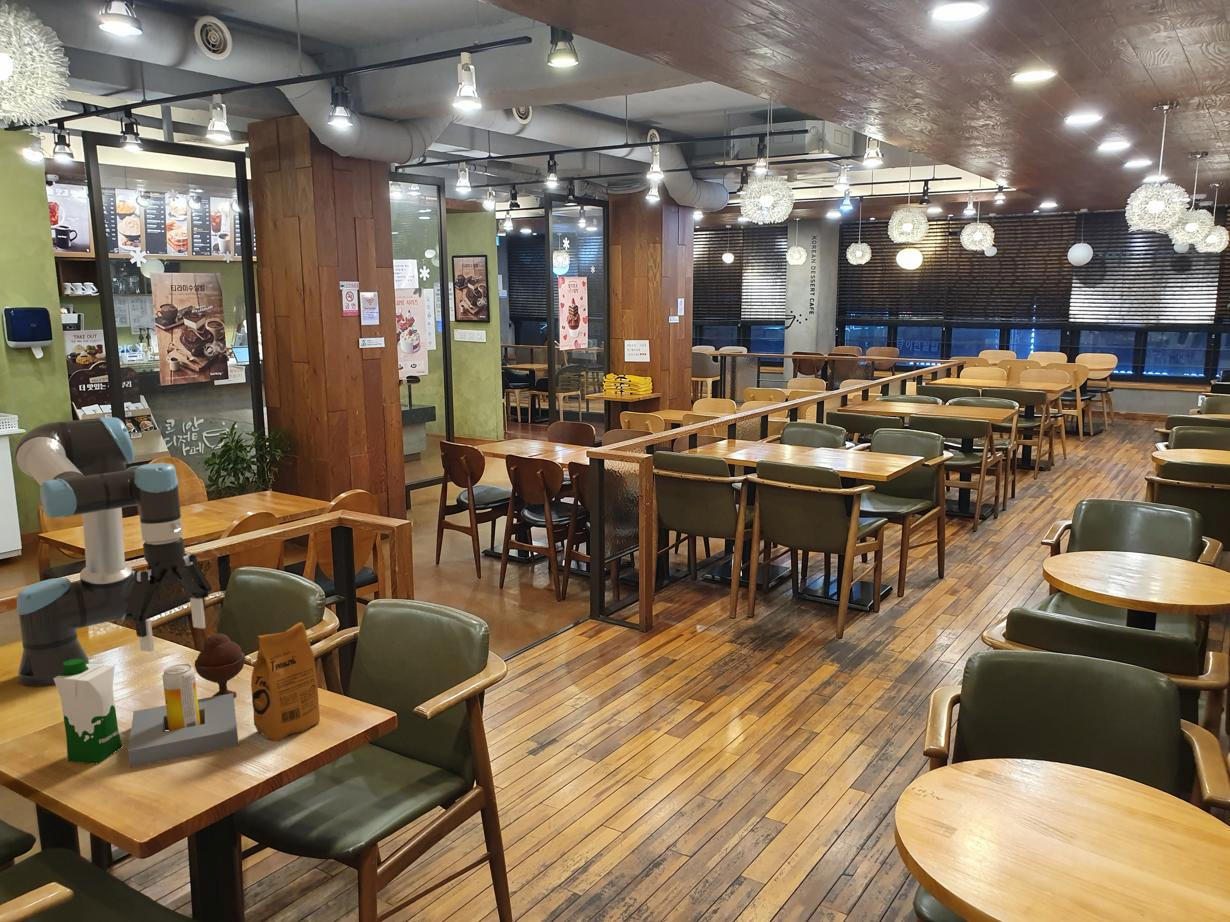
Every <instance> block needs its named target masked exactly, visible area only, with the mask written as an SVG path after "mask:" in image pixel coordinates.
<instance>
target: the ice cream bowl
mask: <svg viewBox="0 0 1230 922" xmlns="http://www.w3.org/2000/svg"><path fill="white" fill-rule="evenodd" d="M245 661H246V653H245V652H243V651H242V648H241V646H240V644H238V643H236V642H234V641H231V638H229V636H228V635H226V634H224V633H214V634H212V635H210V636H209V637H207V639H206V640H205V642H204V644H203V649H202V650H201V651H200V652H199V654H198V655H197V658H196V659H195V660H194V668H195V670H196V672H197V674H198V676H199V677H201V678H202V679H203V680H205V681H208V682H211V683H215V684H218V689H219V691H217V692H216V693H214V694H213V695H212V696H211V697H214V696H220V695H225V694H231V693H233V696H234V699H236V698H237V693H236V691H233V690H230V689H228V686H227V685H228V684H227V683H228V681H230V680H232V679H233V678H235V677H236V676H237V675H239V674H240V672H242V670H243V668H244V665H245ZM235 697H236V698H235Z"/></svg>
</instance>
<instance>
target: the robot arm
mask: <svg viewBox="0 0 1230 922" xmlns="http://www.w3.org/2000/svg"><path fill="white" fill-rule="evenodd" d="M13 456H14V462H15V464H16V465H17V467H18V468H19V470H20V471H21V472H22V473H23V474H25V475H27V476H28V477H30V478H33V479H34V480H35V481H36V482H37V483H38V484H39V486H40V488H39V496H40V502H41V507H42V510H43V512H44V514H45V516H47V517H49V518H61V517H64V518H69V517H71V516H72V517H73V516H77V515H81V516H82V526H83V528H82V529H83V541H84V542H83V543H84V553H85V554H84V555H85V566H84V568H82V570H81V571H80V572H79V580H77V581H72V582H71V580H70V579H69V578H67V577H57V578H49V579H45V580H42V581H41V580H40V581H38V582H35V583H32V584H30V585H29V586H26V587H25V588H23V589H22V590H20V591H19V592H18V594H17V596H16V614H17V615H18V621H19V626H20V628H19V629H20V635H21V641H22V642H21V643H22V649H23V650H22V654H21V659H20V662H19V663H20V664H19V667H18V672H17V675H18V681H19V683H20V684H21V685H23V686H28V687H45V686H50V685H51V686H52V685H56V684H55V682H54V678H55V677H57V676H58V675H60V674H62V673H63V672H64V671H63V662H65V661H67V660H70V659H74V658H85V660H86V664H90V661H89V660H90V659H89V657H88V655H87V654H86V652H85V650H84V648H83V646H82V645H81V643H80V641H79V638H78V633H77V632H78V631H77V629H82V628H86V627H91V626H95V625H100V624H105V623H109V622H113V621H121V620H123V619H125V621H128V622H134V626H135V632H136V636H137V637H139V644H140V651H143V652H150V653H152V652H154V651H155V646H154V644H155V643H154V637H153V628H152V619H148V617H149V615H150V613H151V611H152V609H153V607H154V604H155V603H156V600H157V598H158V596H159V595H160V594H159V593H160V592H161V591H162V590H163V589H164V588H165V587H168V586H169V585H171V584H172V583H173V584H174V583H177V582H178V583H179V584H180V585H181V586H182V587H183V588H184V589H186V590H187V591H188V592H189V593H190V594H191V595H192V597H190V598H189V599H190V601H189V602H190V611H191V619H192V626H193V627H192V628H195V629H196V628H197V629H205V628H206V627H207V626H206V618H205V611H206V600H205V598H209V592H212V590H213V589H212V585H211V583H210V582H209V580H208V579H207V577H206V575H205V574H204V572H203V570H202V569H201V567H200V565H199V563H198V560H197V556H196V554H194V553H193V554H191V553H186V550H185V549H186V548H185V540H184V539H183V536H184V531H183V523H182V521H183V520H182V515H181V505H180V504H181V503H180V495H179V494H180V493H179V478H178V477H177V472H176V467H175V466H174V465H173V464H172V463H168V462H167V463H165V462H156V463H155V462H154V463H145V464H142V465H135V466H130V467H128V468H127V465H130V464H132V463H133V462H135V461H134V460H135V459H134V458H135V452H134V446H133V442H132V440H131V435H130V433H129V431H128V429H127V427H126V425H125V423H124V421H122V419H120V418H118V417H102V416H101V417H100V416H99V417H95V418H94V417H93V418H85V419H78V420H76V419H75V420H67V421H53V422H48V423H44V424H41V425H38V426H36V427H34V428H33V429H30V430H29V431H27V432H26V433H24V435H23V436H21V438H20V439H19V440H18V442H17V444H16V445H15V448H14V455H13ZM134 506H138V512H139V520H140V521H139V522H140V530H141V531H140V532H141V540H142V541H144V542H143V544H142V546H143V547H142V548H143V557H144V560H145V561H146V563H147V568H146V569H145V570H133V568H132V566H130V565H129V564H128V563H126V559H125V558H126V557H125V542H124V541H125V540H124V527H123V524H124V523H123V510H122V509H123V508H127V507H129V508H130V507H134ZM184 568H186V570H187V572H188V573H187V572H186V571H185V570H184Z"/></svg>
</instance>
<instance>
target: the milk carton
mask: <svg viewBox="0 0 1230 922" xmlns="http://www.w3.org/2000/svg"><path fill="white" fill-rule="evenodd" d="M63 671H64V672H63V673H62V674H60V675H58V676H57V677H55V678H54V682H55V684H54V685H55V686H56V687H55V688H56V689H57V692H58V694H59V698H60V701H61V707H62V708H61V709H62V716H63V722H64V730H65V731H64V732H65V736H66V737H65V738H66V753H67V762H68V761H73V762H72V763H79V762H84V763H83V764H91V763H95V764H94V765H99V764H100V762H101V761H102V762H103V760H104V759H105V760H107V759H108V758H110V757H111V756H112V755H114V754H115V753H116V752H115V751H117V750H118V749H120V748H121V747H122V746H123V742H122V739H121V735H120V730H119V727H118V725H119V724H118V717H117V710H116V703H115V702H116V701H115V696H114V694H115V693H114V676H115V665H105V664H102V663H100V664H96V663H89V664H86V660H85V658H74V659H70V660H67V661H65V662H63ZM121 749H122V748H121ZM121 749H120V750H121ZM118 751H119V750H118ZM118 751H117V752H118ZM114 752H115V753H114ZM113 753H114V754H113ZM111 754H112V755H111ZM110 755H111V756H110ZM109 756H110V757H109ZM107 757H108V758H107ZM106 758H107V759H106ZM105 760H104V761H105ZM102 762H101V763H102ZM96 763H97V764H96Z"/></svg>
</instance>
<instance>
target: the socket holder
mask: <svg viewBox="0 0 1230 922" xmlns="http://www.w3.org/2000/svg"><path fill="white" fill-rule="evenodd" d="M235 706H236V705H235V698H234V696H233V693H231V694H225V695H220V696H214V697H212V696H210V697H209V696H208V697H203V698H199V699H198V707H199V716H200V725H197V726H191V727H186V728H181V729H176V730H171V731H165V730H169V727H168V719H167V711H166V704H165V705H160V706H154V707H150V708H149V707H148V708H144V709H143V708H142V709H139V710H133V715H132V720H131V728H130V734H129V735H130V736H129V741H128V749H127V754H128V761H129V762H128V763H129V767H130V768H134V767H133V766H135V767H140V766H144V764H145V765H148V764H149V763H150V764H154V763H158V762H159V761H160V762H163V761H164V760H165V761H169V760H174V759H179V758H183V757H188V756H193V755H199V754H204V753H208V752H213V751H214V752H215V751H218V750H224V749H228V748H234V747H237V746H240V744H239V736H238V734H239V733H238V726H237V718H236V717H237V716H236V707H235ZM165 761H164V762H165ZM139 765H140V766H139Z"/></svg>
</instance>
